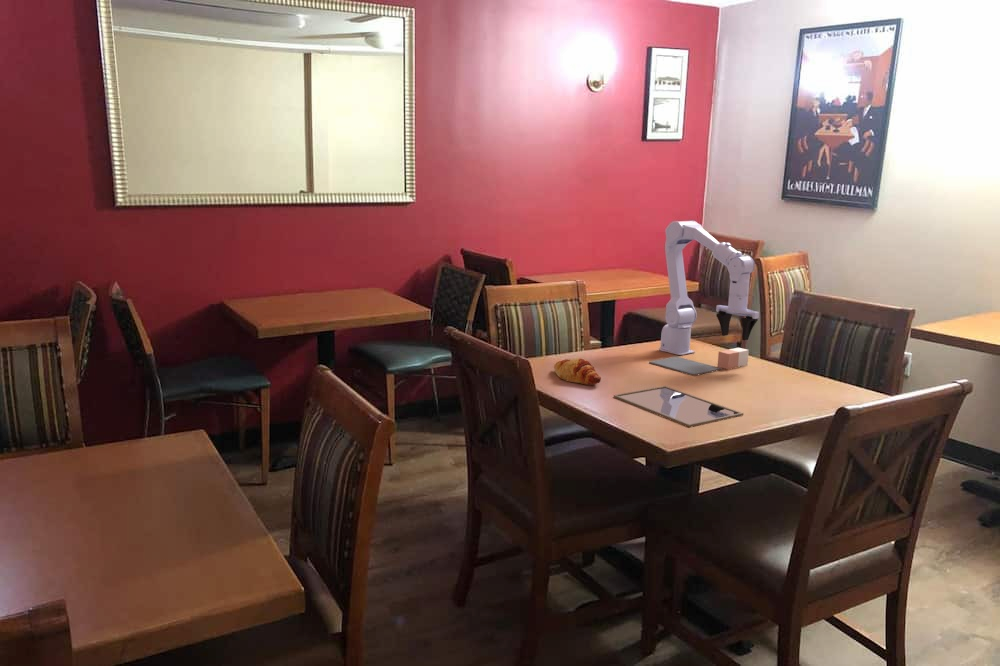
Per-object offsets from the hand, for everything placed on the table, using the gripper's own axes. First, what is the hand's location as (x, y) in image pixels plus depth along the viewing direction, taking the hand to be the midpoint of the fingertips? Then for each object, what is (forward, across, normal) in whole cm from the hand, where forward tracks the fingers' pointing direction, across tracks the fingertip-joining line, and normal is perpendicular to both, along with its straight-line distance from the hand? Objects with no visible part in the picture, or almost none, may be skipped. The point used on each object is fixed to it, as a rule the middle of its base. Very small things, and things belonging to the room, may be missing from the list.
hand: (734, 337), depth 245 cm
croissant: (+10, -16, -52) cm, 55 cm away
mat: (+9, -8, -14) cm, 18 cm away
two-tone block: (+9, 0, 0) cm, 9 cm away
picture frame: (+10, +18, -48) cm, 52 cm away
